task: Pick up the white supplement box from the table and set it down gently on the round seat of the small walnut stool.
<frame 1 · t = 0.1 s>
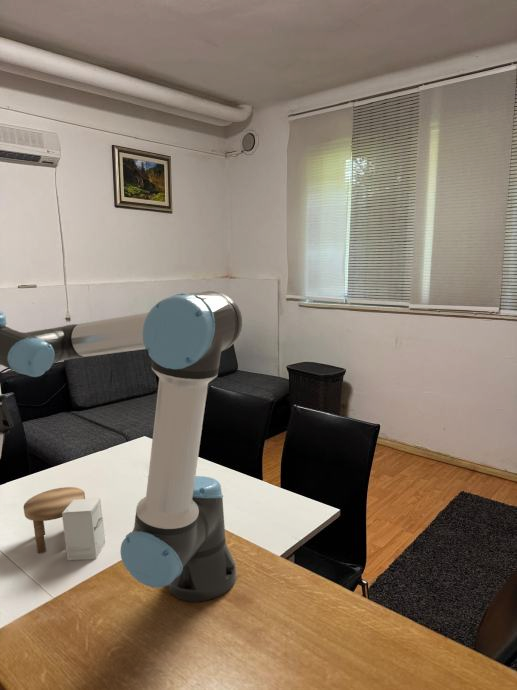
supplement box: (87, 552, 121), on the table
stool: (59, 538, 128), on the table
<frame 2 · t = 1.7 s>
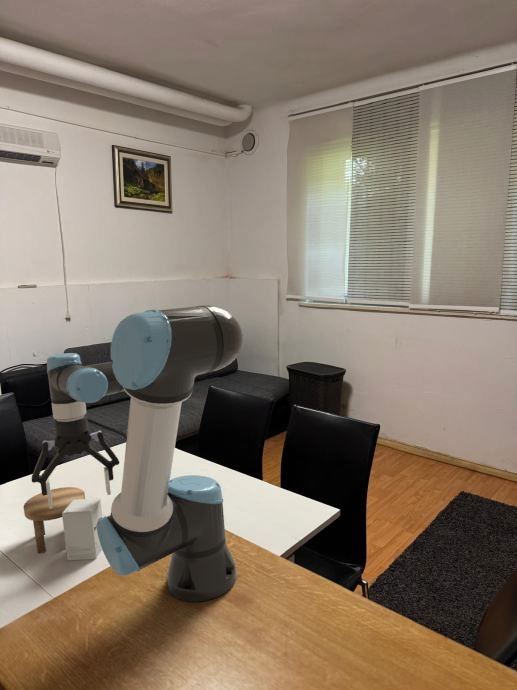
hand: (80, 499, 119), 14 cm above the table, tool pointing down, fingers open, 13 cm apart
nothing on the table moved.
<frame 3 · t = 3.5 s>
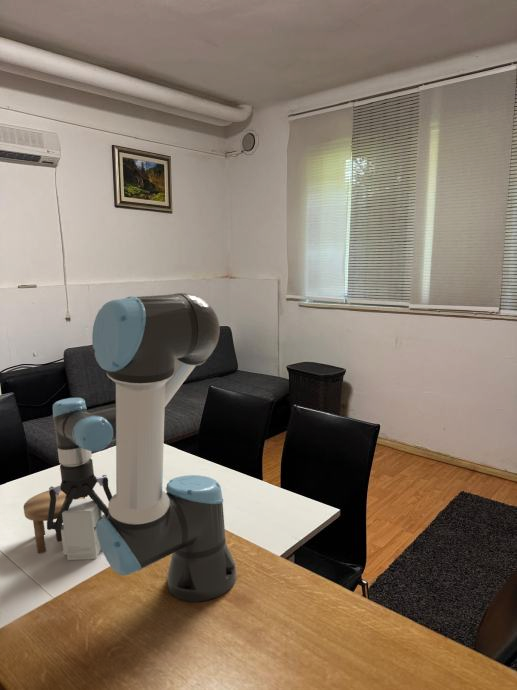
hand: (86, 545, 120), 2 cm above the table, tool pointing down, fingers closed on supplement box, 9 cm apart
supplement box: (87, 552, 121), on the table, touching gripper
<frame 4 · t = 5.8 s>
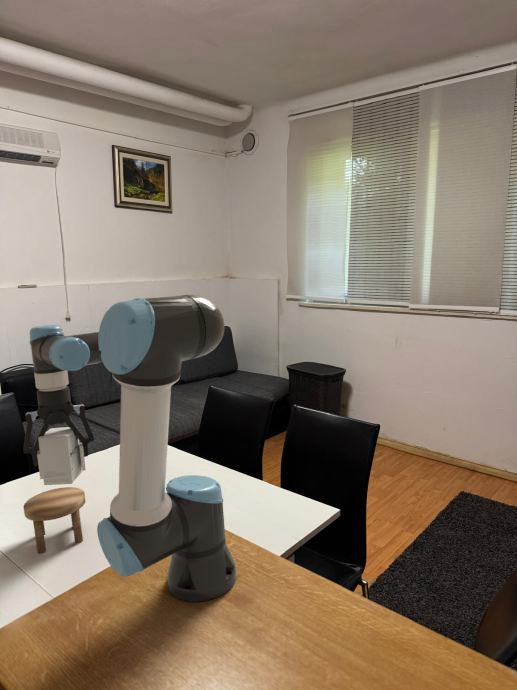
hand: (63, 472, 122), 20 cm above the table, tool pointing down, fingers closed on supplement box, 9 cm apart
supplement box: (64, 479, 122), point 18 cm above the table, touching gripper
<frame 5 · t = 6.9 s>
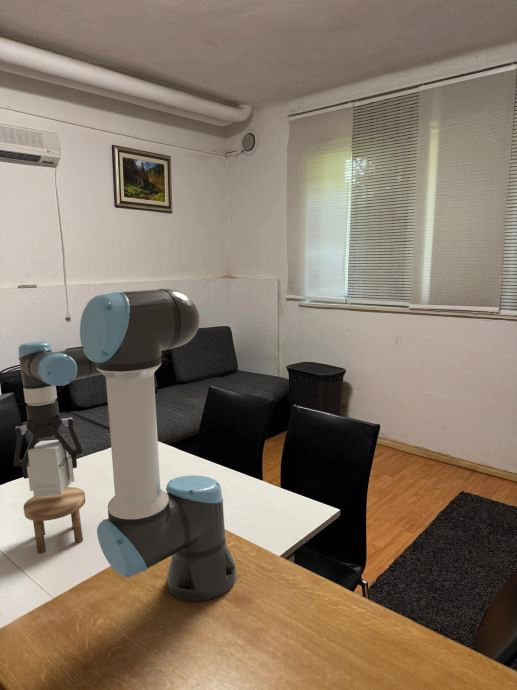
hand: (52, 484, 126), 15 cm above the table, tool pointing down, fingers closed on supplement box, 9 cm apart
supplement box: (53, 490, 126), point 13 cm above the table, touching gripper
when the fingers open (14 cm above the table, at t = 8.0 s): supplement box drops 1 cm, resting on stool.
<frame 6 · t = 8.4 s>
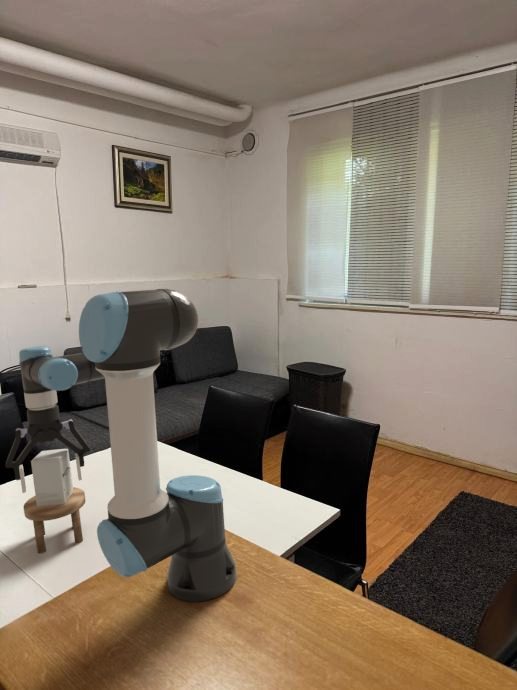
hand: (52, 484, 126), 15 cm above the table, tool pointing down, fingers open, 13 cm apart
supplement box: (56, 500, 127), point 11 cm above the table, touching stool
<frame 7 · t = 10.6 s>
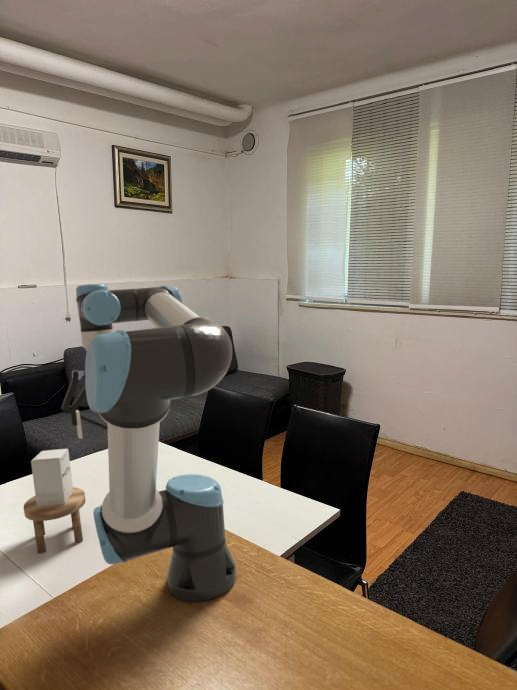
hand: (108, 431, 119), 30 cm above the table, tool pointing down, fingers open, 13 cm apart
nothing on the table moved.
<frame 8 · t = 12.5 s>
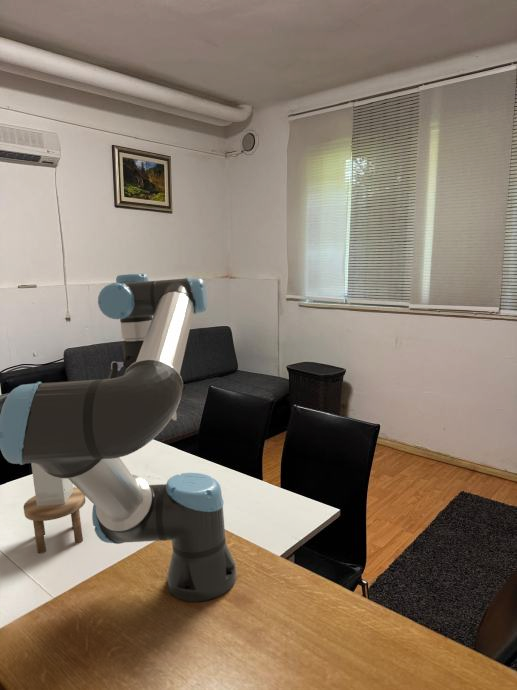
hand: (147, 424, 118), 32 cm above the table, tool pointing down, fingers open, 13 cm apart
nothing on the table moved.
at the end: supplement box inside the target area on the stool (0.3 cm from its centre), point 10.8 cm above the stool's base; supplement box tilted 0°; the gripper is holding nothing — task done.
